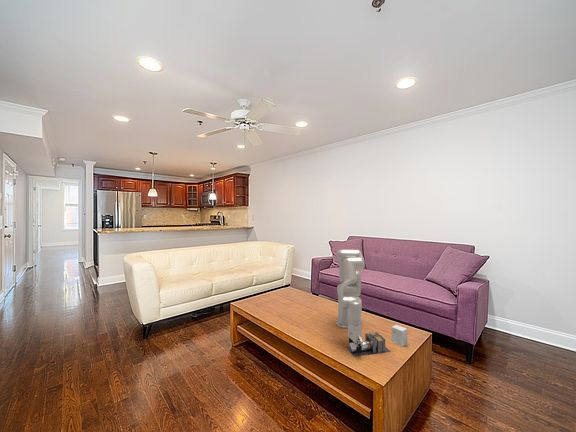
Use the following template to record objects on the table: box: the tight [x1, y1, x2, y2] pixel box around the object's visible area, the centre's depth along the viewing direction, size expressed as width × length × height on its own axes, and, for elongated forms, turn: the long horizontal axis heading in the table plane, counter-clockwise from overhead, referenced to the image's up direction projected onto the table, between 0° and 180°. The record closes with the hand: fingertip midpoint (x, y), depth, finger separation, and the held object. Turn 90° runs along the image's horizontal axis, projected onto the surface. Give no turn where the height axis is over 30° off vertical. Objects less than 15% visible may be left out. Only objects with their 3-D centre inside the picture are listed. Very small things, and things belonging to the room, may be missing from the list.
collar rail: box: [345, 331, 392, 358], centre depth 161 cm, size 11×25×9 cm, turn 103°
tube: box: [348, 339, 377, 352], centre depth 161 cm, size 18×5×5 cm, turn 103°
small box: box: [391, 324, 408, 347], centre depth 169 cm, size 8×6×10 cm
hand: (355, 348), depth 159 cm, fingers open, 9 cm apart
